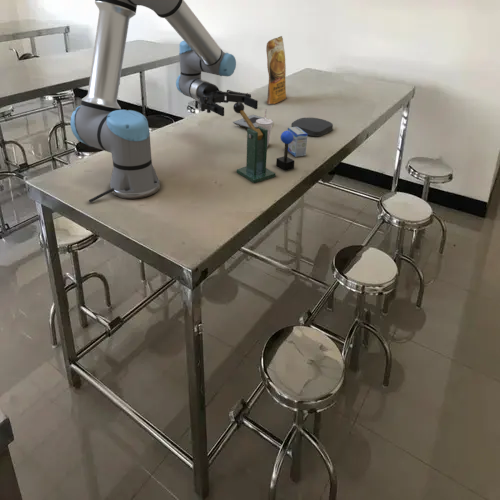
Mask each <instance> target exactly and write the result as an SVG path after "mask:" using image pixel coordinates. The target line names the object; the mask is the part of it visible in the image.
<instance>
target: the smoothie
mask: <svg viewBox="0 0 500 500" xmlns="http://www.w3.org/2000/svg"><path fill="white" fill-rule="evenodd" d="M267 112H268V111H267V108H264V117H263V118H262V119H257V120H256V125H257V126H261V127H263V128H265V129H267V130H268V137H267V148H268V147H269V144H270V143H269V142H270V139H271V138H270V137H271V131H272V127H273V124H274V121H273V119H270V118H267ZM266 118H267V119H266Z"/></svg>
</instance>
